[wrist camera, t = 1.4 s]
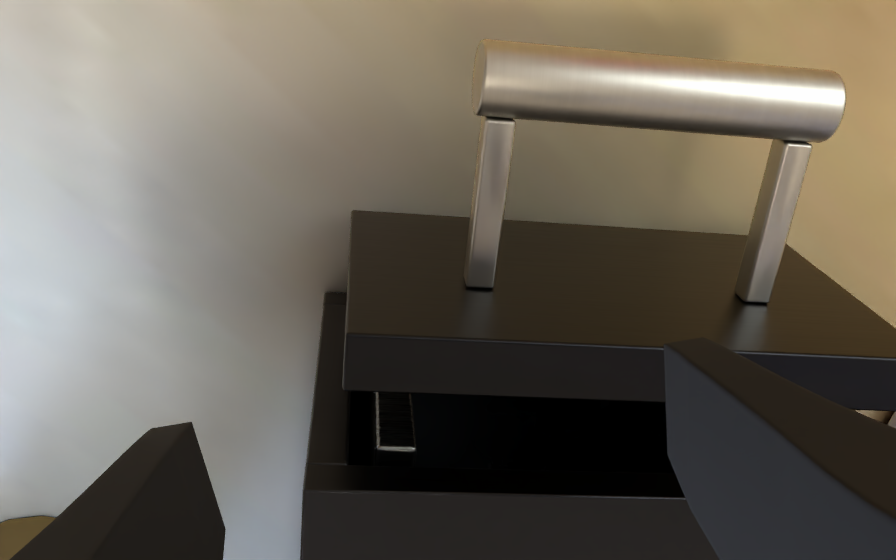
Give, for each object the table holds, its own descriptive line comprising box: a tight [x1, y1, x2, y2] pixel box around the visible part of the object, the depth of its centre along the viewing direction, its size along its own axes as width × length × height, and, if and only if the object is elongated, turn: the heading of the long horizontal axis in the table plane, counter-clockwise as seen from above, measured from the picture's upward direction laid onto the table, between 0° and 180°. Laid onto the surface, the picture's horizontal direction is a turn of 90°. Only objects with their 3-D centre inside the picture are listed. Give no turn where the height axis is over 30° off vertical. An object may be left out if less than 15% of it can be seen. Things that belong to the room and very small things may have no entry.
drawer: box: [342, 39, 896, 474], centre depth 20 cm, size 18×11×7 cm, turn 174°
